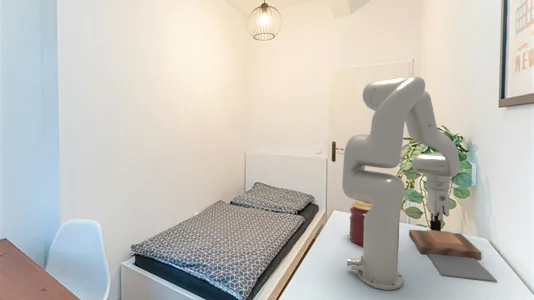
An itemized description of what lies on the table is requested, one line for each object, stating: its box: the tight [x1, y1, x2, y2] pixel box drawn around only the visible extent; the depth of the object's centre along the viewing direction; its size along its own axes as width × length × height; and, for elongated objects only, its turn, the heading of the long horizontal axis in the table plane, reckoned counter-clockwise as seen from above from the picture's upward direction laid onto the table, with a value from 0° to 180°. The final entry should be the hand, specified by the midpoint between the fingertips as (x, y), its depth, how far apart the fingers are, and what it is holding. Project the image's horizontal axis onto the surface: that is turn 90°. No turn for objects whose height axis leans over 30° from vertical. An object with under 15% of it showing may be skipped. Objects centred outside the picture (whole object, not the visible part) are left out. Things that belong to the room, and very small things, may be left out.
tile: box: [426, 229, 463, 250], centre depth 94 cm, size 8×10×2 cm
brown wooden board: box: [408, 229, 482, 261], centre depth 96 cm, size 18×15×2 cm
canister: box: [349, 200, 372, 247], centre depth 101 cm, size 13×13×18 cm
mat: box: [426, 253, 498, 283], centre depth 82 cm, size 14×13×1 cm
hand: (435, 230), depth 102 cm, fingers closed
